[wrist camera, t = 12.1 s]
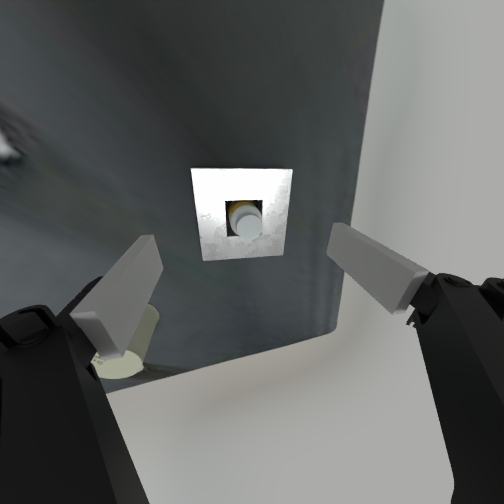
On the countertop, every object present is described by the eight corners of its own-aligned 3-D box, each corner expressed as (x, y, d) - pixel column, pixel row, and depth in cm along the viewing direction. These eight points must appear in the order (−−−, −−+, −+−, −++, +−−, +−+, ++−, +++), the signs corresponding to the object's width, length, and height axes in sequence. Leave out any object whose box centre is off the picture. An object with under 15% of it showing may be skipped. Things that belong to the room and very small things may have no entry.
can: (130, 294, 39) (99, 344, 29) (167, 312, 43) (152, 361, 33) (107, 318, 41) (70, 373, 31) (144, 333, 45) (123, 386, 35)
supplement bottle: (227, 224, 36) (231, 244, 27) (227, 196, 33) (231, 210, 25) (254, 223, 37) (265, 243, 28) (255, 197, 34) (268, 210, 26)
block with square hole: (193, 167, 30) (190, 168, 26) (284, 168, 32) (292, 169, 29) (204, 251, 37) (203, 260, 34) (277, 246, 40) (283, 254, 37)
